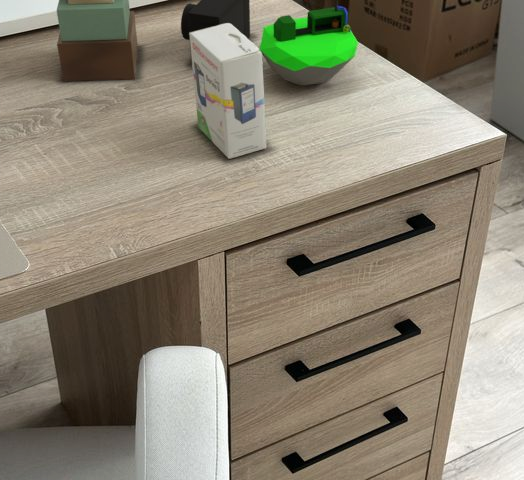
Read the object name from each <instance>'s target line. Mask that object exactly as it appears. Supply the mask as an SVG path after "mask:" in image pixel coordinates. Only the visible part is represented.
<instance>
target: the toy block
mask: <svg viewBox="0 0 524 480" xmlns="http://www.w3.org/2000/svg"><path fill="white" fill-rule="evenodd" d="M101 3H114V0H68V4H69V5H72V4H101Z"/></svg>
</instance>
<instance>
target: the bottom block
mask: <svg viewBox="0 0 524 480" xmlns="http://www.w3.org/2000/svg"><path fill="white" fill-rule="evenodd" d="M56 47H57V51H58V52H57V53H58V59H59V64H60V70H61V76H62V77H61V78H62V82H86V81H114V80H115V81H116V80H117V81H118V80H135V79H136V73H137V62H138V61H137V60H138V52H139V51H138V50H139V45H138V36H137V25H136V17H135V10H130V16H129V25H128V34H127V39H118V40H88V41H61V35H60V33H59V35H58V38H57V43H56Z"/></svg>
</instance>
